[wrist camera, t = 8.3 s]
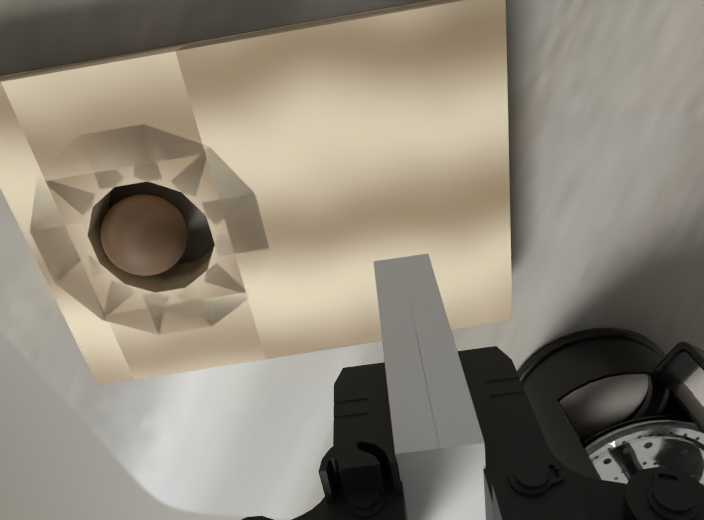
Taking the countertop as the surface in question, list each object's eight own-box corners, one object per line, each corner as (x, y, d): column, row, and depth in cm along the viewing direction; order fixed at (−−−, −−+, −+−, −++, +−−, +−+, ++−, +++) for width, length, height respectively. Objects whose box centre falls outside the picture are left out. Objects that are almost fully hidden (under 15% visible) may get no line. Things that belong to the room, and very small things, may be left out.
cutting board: (-11, 77, 22) (-48, 90, 20) (486, -10, 21) (505, -7, 19) (114, 353, 29) (97, 385, 26) (497, 292, 28) (512, 320, 26)
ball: (76, 203, 23) (107, 221, 21) (154, 176, 25) (190, 191, 23) (104, 274, 25) (135, 300, 22) (174, 245, 27) (210, 265, 24)
